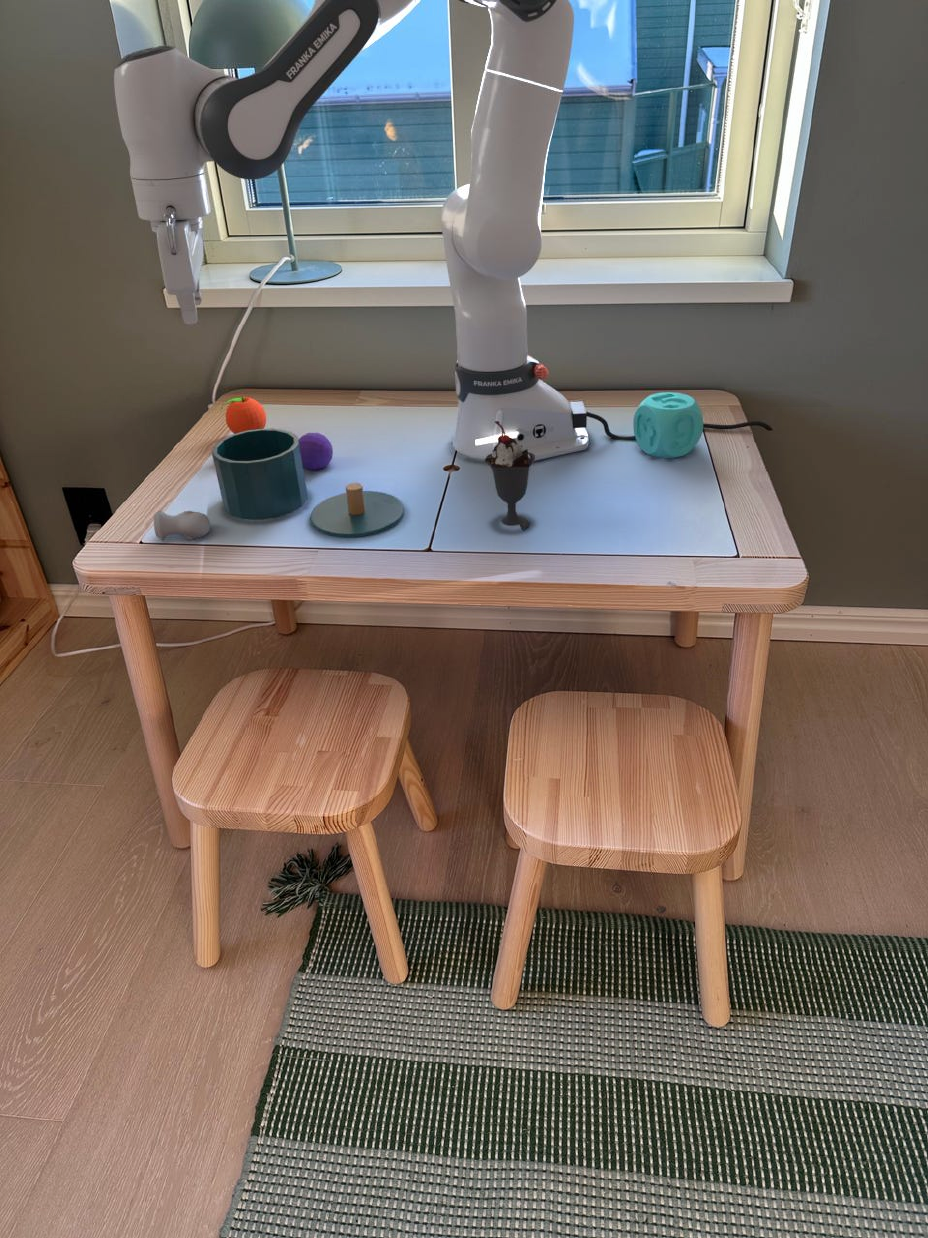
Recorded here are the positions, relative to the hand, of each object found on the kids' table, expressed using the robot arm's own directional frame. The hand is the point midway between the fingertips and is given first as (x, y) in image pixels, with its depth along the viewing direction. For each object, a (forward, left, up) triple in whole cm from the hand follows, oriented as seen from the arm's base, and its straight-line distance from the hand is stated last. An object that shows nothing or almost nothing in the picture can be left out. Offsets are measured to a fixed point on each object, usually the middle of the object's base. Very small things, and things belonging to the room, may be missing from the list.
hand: (193, 313), depth 122 cm
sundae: (-39, +17, -29) cm, 51 cm away
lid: (-18, +9, -28) cm, 35 cm away
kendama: (-7, -14, -29) cm, 33 cm away
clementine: (-2, -28, -29) cm, 40 cm away
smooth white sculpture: (+7, +7, -29) cm, 31 cm away
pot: (-5, 0, -29) cm, 29 cm away
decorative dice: (-69, -1, -29) cm, 75 cm away
